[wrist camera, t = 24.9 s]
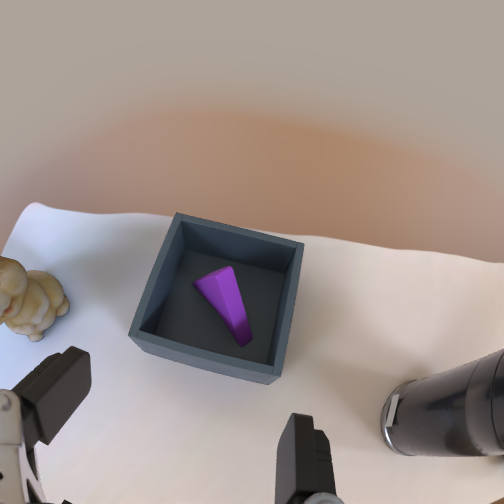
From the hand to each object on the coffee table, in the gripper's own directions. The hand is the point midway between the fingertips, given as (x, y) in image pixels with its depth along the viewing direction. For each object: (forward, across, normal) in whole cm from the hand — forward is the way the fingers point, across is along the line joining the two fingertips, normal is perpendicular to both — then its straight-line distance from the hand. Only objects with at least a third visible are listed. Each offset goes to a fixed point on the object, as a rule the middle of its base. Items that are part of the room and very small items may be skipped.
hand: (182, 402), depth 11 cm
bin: (+23, +1, +7) cm, 24 cm away
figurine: (+18, +22, +13) cm, 31 cm away
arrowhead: (+22, +1, +7) cm, 23 cm away
